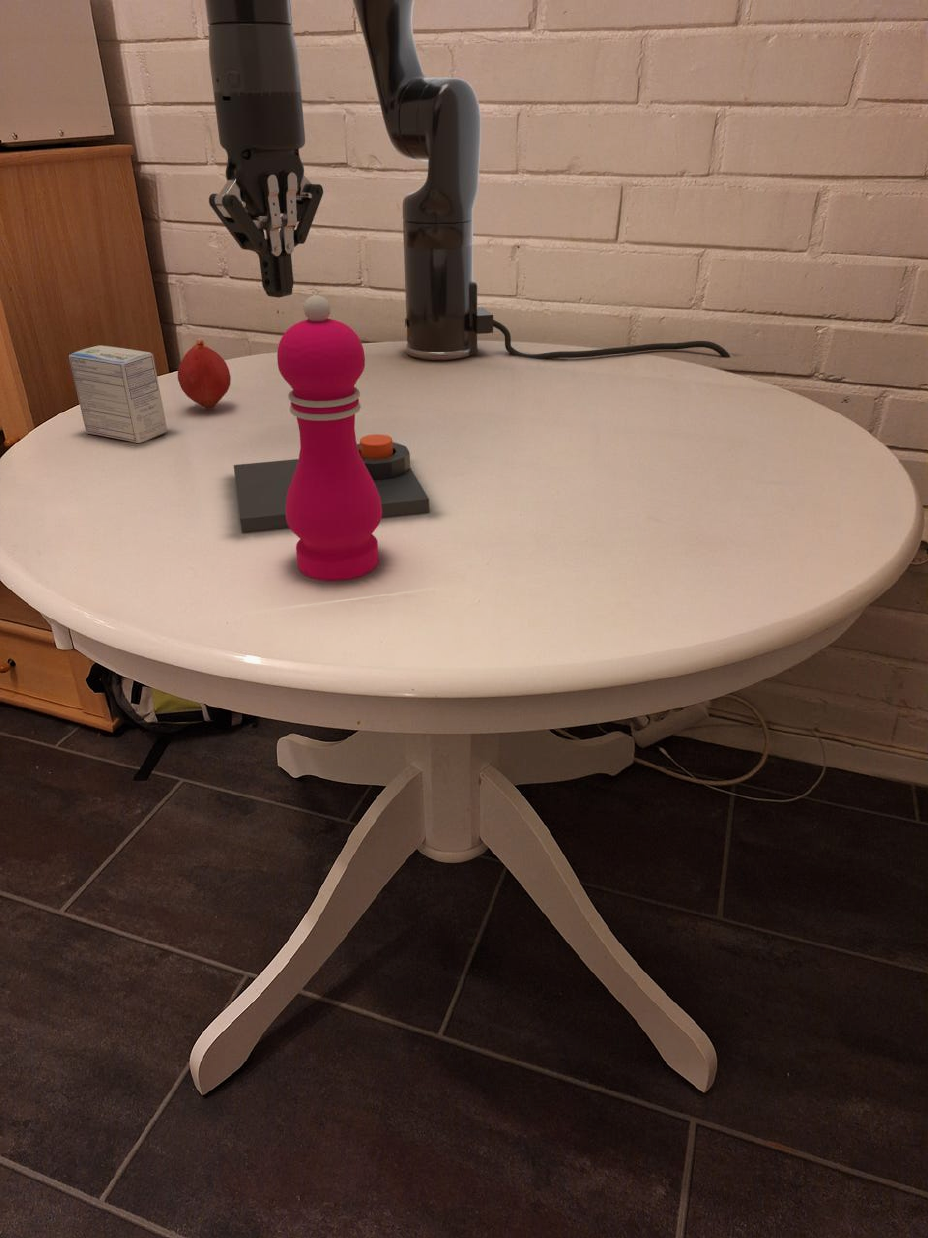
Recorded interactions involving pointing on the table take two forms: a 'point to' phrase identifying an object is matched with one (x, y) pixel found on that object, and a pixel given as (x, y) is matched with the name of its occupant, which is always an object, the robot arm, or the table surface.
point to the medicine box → (118, 393)
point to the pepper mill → (328, 449)
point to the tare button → (376, 446)
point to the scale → (270, 481)
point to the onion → (204, 375)
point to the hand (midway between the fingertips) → (279, 295)
